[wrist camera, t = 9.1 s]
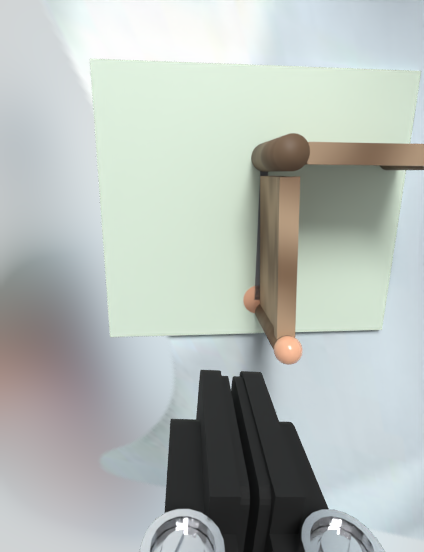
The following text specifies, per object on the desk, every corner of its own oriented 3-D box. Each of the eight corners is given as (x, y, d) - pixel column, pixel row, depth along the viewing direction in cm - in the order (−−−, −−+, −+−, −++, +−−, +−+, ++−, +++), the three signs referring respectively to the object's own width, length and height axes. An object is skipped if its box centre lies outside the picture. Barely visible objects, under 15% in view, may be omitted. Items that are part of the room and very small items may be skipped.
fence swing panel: (253, 176, 26) (281, 177, 19) (277, 175, 26) (314, 176, 19) (253, 322, 30) (277, 371, 22) (275, 321, 30) (305, 368, 23)
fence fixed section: (401, 145, 27) (470, 136, 21) (397, 173, 28) (463, 173, 21) (251, 142, 26) (275, 132, 20) (250, 171, 27) (273, 171, 20)
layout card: (417, 72, 26) (421, 70, 26) (379, 327, 32) (382, 330, 31) (91, 60, 24) (89, 58, 24) (111, 335, 30) (109, 337, 29)
